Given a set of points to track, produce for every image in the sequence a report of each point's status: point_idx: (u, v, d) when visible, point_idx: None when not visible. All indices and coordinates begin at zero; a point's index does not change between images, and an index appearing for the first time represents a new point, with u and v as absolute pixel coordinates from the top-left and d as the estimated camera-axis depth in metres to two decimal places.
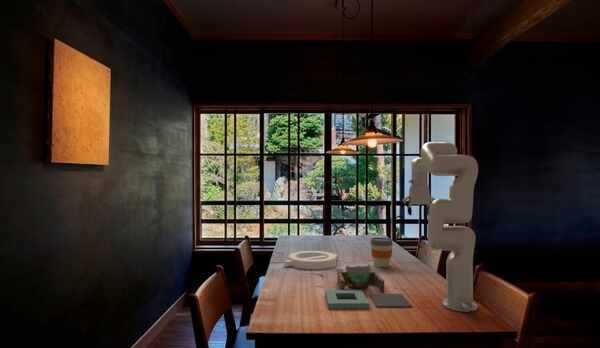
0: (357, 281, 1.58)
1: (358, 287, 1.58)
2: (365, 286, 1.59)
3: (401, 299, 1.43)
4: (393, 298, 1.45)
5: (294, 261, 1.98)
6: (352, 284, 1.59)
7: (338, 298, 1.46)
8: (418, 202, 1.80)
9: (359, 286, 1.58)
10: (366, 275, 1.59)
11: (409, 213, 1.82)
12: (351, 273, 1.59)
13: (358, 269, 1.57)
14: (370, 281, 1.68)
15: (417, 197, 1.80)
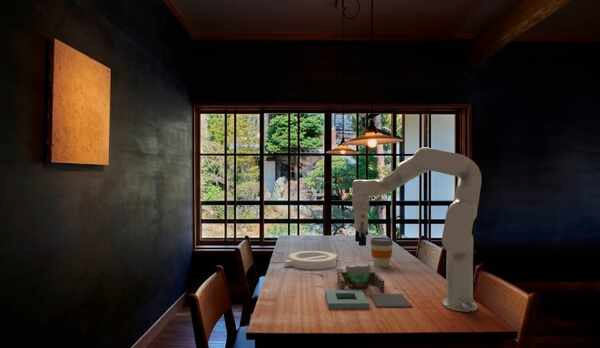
0: (357, 281, 1.58)
1: (358, 287, 1.58)
2: (365, 286, 1.59)
3: (401, 299, 1.43)
4: (393, 298, 1.45)
5: (294, 261, 1.98)
6: (352, 284, 1.59)
7: (338, 298, 1.46)
8: None
9: (359, 286, 1.58)
10: (366, 275, 1.59)
11: (363, 243, 1.55)
12: (351, 273, 1.59)
13: (358, 269, 1.57)
14: (370, 281, 1.68)
15: None
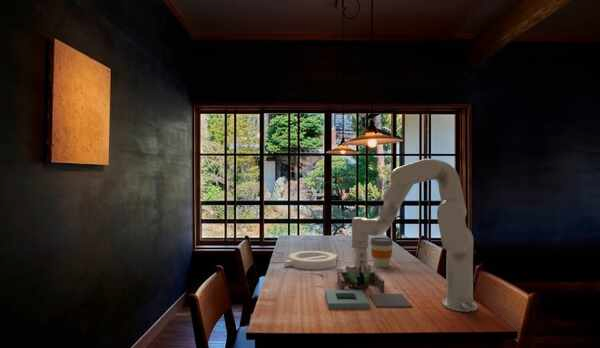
0: None
1: (358, 287, 1.58)
2: (365, 286, 1.59)
3: (401, 299, 1.43)
4: (393, 298, 1.45)
5: (294, 261, 1.98)
6: (352, 284, 1.59)
7: (338, 298, 1.46)
8: None
9: (359, 286, 1.58)
10: (366, 275, 1.59)
11: (362, 283, 1.57)
12: (351, 273, 1.59)
13: None
14: (370, 281, 1.68)
15: None
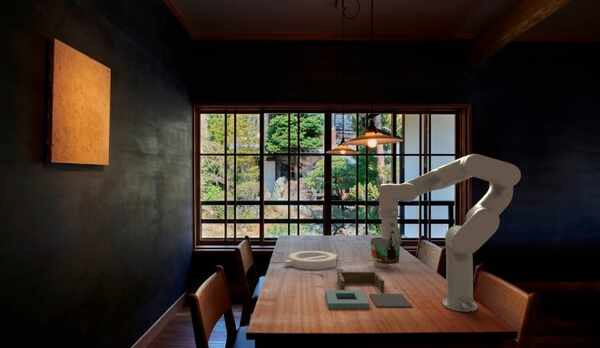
0: (387, 254, 1.41)
1: (388, 261, 1.41)
2: (396, 260, 1.42)
3: (401, 299, 1.43)
4: (393, 298, 1.45)
5: (294, 261, 1.98)
6: (381, 258, 1.42)
7: (338, 298, 1.46)
8: None
9: (389, 260, 1.41)
10: (397, 248, 1.42)
11: None
12: (380, 246, 1.42)
13: None
14: (370, 281, 1.68)
15: None
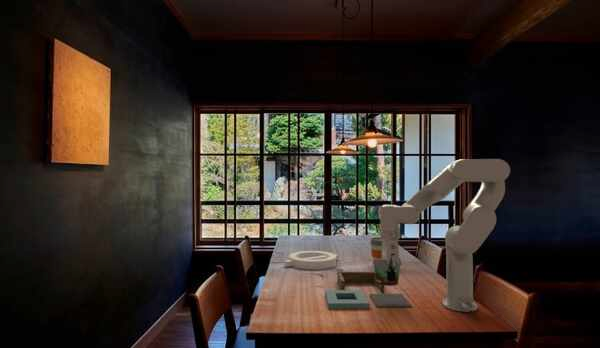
0: (386, 276, 1.41)
1: (387, 283, 1.41)
2: (396, 282, 1.42)
3: (401, 299, 1.43)
4: (393, 298, 1.45)
5: (294, 261, 1.98)
6: (381, 279, 1.42)
7: (338, 298, 1.46)
8: None
9: (389, 282, 1.41)
10: (396, 270, 1.41)
11: None
12: (380, 267, 1.42)
13: None
14: (370, 281, 1.68)
15: None
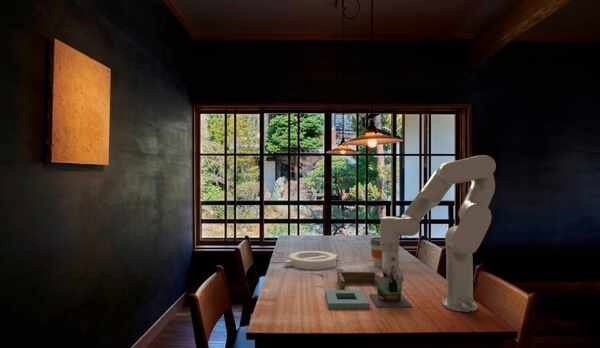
0: (388, 293, 1.40)
1: (390, 300, 1.40)
2: (398, 298, 1.41)
3: (401, 299, 1.43)
4: None
5: (294, 261, 1.98)
6: (383, 296, 1.41)
7: (338, 298, 1.46)
8: None
9: (391, 299, 1.40)
10: (399, 286, 1.41)
11: None
12: (381, 284, 1.41)
13: None
14: (370, 281, 1.68)
15: None
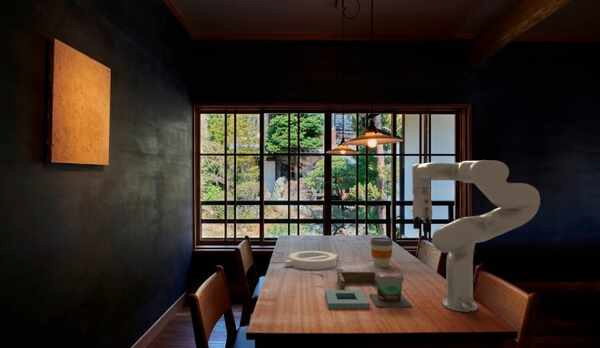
0: (388, 293, 1.40)
1: (390, 300, 1.40)
2: (398, 298, 1.41)
3: (401, 299, 1.43)
4: None
5: (294, 261, 1.98)
6: (383, 296, 1.41)
7: (338, 298, 1.46)
8: None
9: (391, 299, 1.40)
10: (399, 286, 1.41)
11: (428, 230, 1.49)
12: (382, 284, 1.41)
13: (390, 279, 1.39)
14: (370, 281, 1.68)
15: None
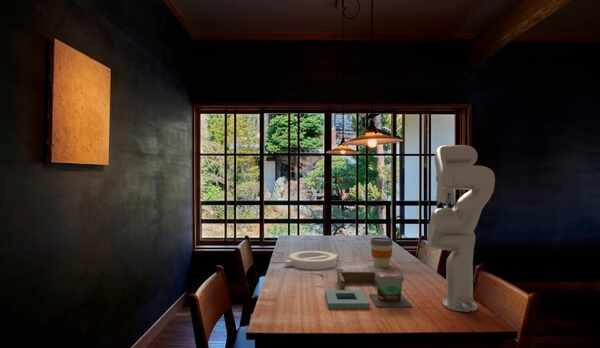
0: (388, 293, 1.40)
1: (390, 300, 1.40)
2: (398, 298, 1.41)
3: (401, 299, 1.43)
4: None
5: (294, 261, 1.98)
6: (383, 296, 1.41)
7: (338, 298, 1.46)
8: None
9: (391, 299, 1.40)
10: (399, 286, 1.41)
11: None
12: (381, 284, 1.41)
13: (390, 279, 1.39)
14: (370, 281, 1.68)
15: None
